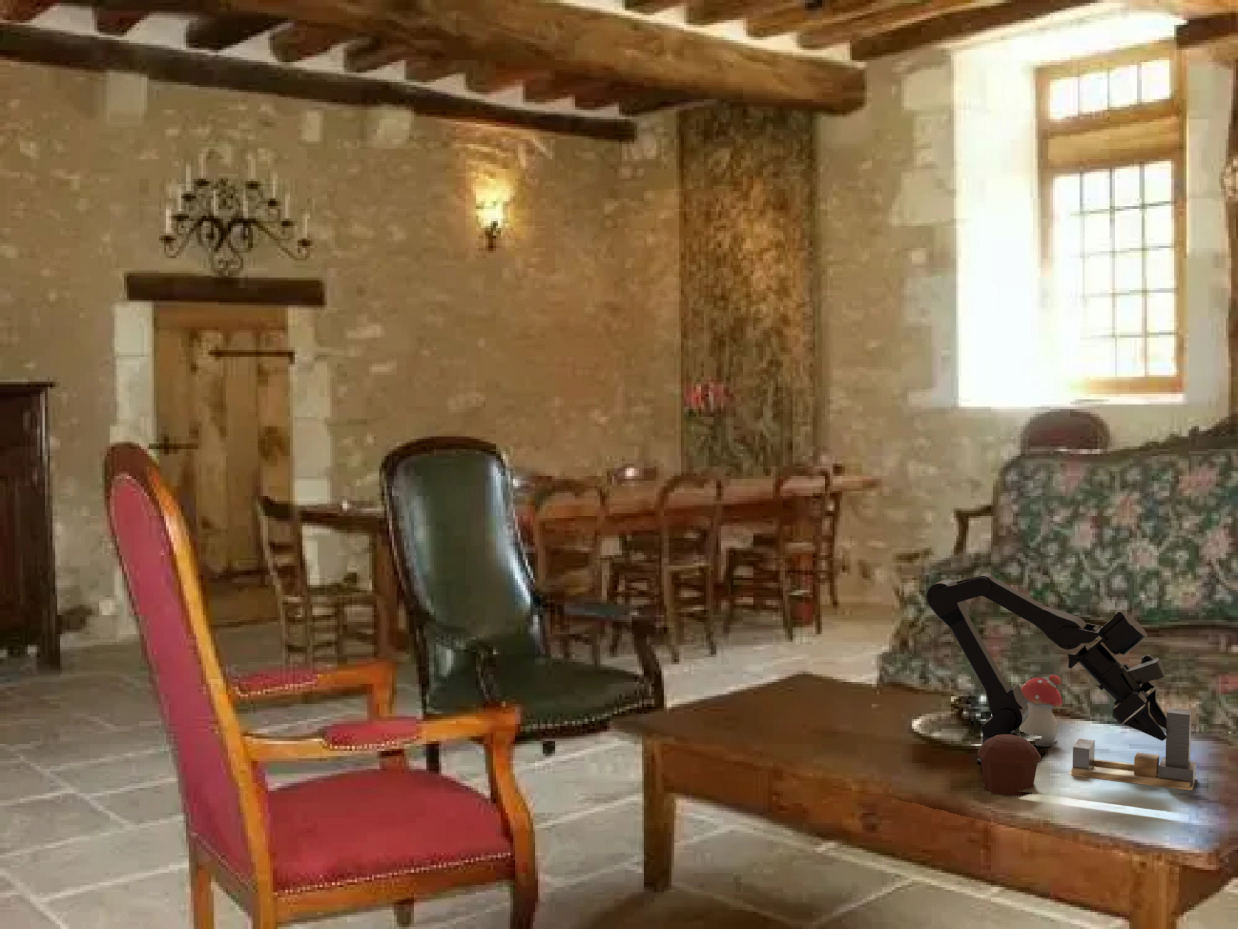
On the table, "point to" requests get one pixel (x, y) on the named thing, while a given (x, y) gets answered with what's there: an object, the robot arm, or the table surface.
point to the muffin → (1008, 764)
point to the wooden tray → (1125, 774)
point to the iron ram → (1178, 748)
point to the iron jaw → (1084, 754)
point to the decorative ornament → (1041, 708)
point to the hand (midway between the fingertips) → (1167, 733)
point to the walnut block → (1146, 765)
